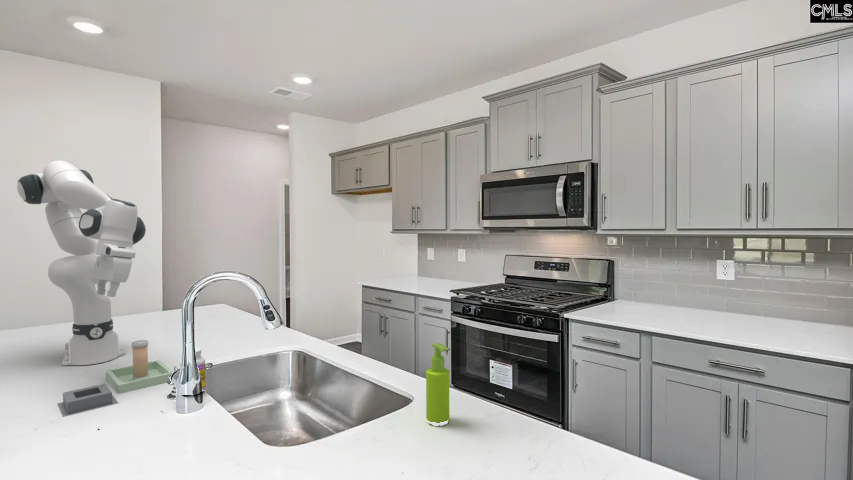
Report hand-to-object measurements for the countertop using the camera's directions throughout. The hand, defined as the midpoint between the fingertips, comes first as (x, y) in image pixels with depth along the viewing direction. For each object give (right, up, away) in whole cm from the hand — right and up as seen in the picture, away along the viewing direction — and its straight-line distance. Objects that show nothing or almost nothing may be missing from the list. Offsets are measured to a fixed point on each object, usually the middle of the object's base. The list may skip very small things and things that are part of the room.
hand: (105, 295), depth 136 cm
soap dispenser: (+102, -30, -23) cm, 108 cm away
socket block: (+5, -29, -13) cm, 32 cm away
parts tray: (+7, -28, +5) cm, 30 cm away
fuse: (+7, -27, +5) cm, 29 cm away
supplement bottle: (+29, -29, -3) cm, 41 cm away
